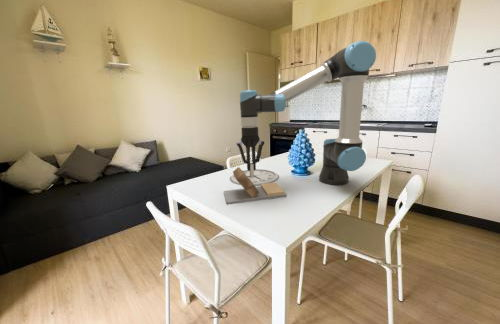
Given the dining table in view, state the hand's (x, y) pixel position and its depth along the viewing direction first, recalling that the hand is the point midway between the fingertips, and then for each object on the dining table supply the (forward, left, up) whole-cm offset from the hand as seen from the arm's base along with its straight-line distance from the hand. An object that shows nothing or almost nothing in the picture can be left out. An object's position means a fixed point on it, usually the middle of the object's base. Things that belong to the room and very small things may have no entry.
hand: (251, 176), depth 104 cm
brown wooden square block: (0, 0, -7) cm, 7 cm away
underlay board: (-1, 0, -9) cm, 9 cm away
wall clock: (-7, -26, -10) cm, 29 cm away
